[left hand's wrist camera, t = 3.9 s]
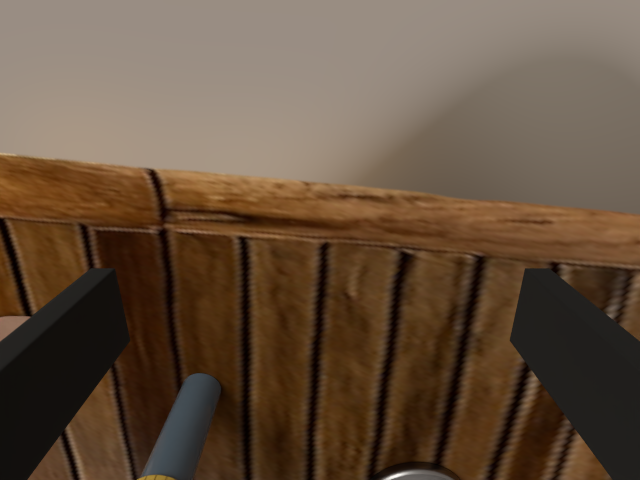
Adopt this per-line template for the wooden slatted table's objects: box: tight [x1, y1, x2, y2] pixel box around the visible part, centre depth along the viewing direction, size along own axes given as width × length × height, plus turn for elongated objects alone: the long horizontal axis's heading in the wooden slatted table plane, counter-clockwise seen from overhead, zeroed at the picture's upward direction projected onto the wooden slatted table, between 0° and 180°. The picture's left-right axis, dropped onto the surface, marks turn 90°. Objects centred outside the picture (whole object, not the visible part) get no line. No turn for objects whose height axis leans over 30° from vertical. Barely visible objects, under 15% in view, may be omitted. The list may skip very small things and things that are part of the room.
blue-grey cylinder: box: [140, 373, 221, 480], centre depth 42 cm, size 5×5×16 cm
